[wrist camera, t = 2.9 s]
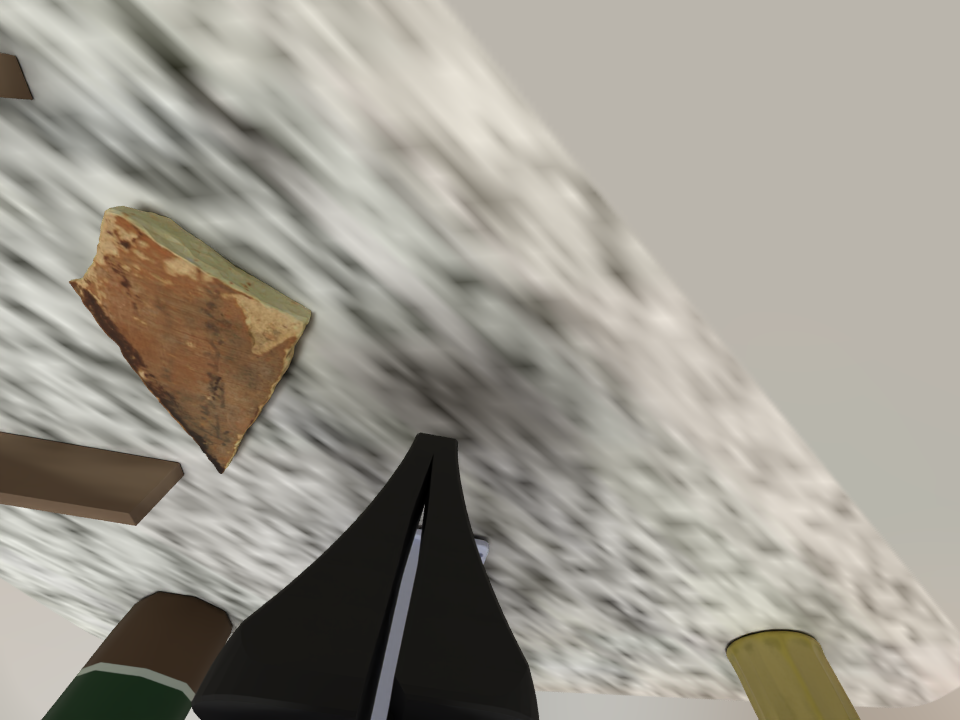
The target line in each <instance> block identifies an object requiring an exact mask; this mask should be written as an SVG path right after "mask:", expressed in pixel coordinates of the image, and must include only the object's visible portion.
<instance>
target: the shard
mask: <svg viewBox="0 0 960 720" xmlns="http://www.w3.org/2000/svg"><path fill="white" fill-rule="evenodd" d="M69 283H70V284H71V286H72V287H73V288H74V290H75V291H76V293H77V294H78V295H79V296H80V297H81V299H82V302H83V304H84V305H85V306H86V308H87V309H88V310H89V311H90V312H91V313H92V315H93V317H94V318H95V320H96V322H97V323H98V324H99V326H100V327H101V328H102V329H103V331H104V332H105V333H106V334H107V335H108V336H109V337H110V338H111V339H112V340H113V341H115V343H116V344H117V345H118V346H119V347H120V349H121V352H122V354H123V356H124V358H125V359H126V360H127V362H128V363H129V364H130V366H131V367H132V369H133V370H134V371H135V372H136V373H137V374H138V375H139V376H140V378H141V379H142V381H143V382H144V384H145V385H146V387H147V388H148V389H149V390H150V391H151V392H152V394H153V395H154V396H155V397H156V398H157V399H158V400H159V402H160V403H161V404H162V405H163V406H164V407H165V408H166V409H167V411H168V412H169V413H170V415H171V416H172V417H173V418H174V419H175V420H176V421H177V422H178V423H179V424H180V425H181V426H182V428H183V429H184V430H185V431H186V432H187V433H188V434H189V435H190V436H191V437H192V438H193V439H194V440H195V442H196V443H197V444H198V445H199V446H200V448H201V450H202V451H203V453H205V454H206V456H207V457H208V459H209V460H210V461H211V462H212V463H213V464H214V466H215V467H216V469H217V470H218V472H219V473H220V474H222V473H223V472H224V471H225V469H226V468H227V467H228V466H229V464H230V463H231V461H232V459H233V457H234V455H235V454H236V452H237V450H238V446H239V444H240V442H241V440H242V439H243V436H244V434H245V432H246V430H247V429H248V428H249V427H250V426H251V425H252V424H253V423H254V422H255V420H256V419H257V417H258V415H259V414H260V412H261V411H262V407H263V406H264V405H265V404H266V403H267V402H268V400H269V399H270V397H271V395H272V393H273V392H274V389H275V386H276V385H277V383H278V382H279V381H280V380H281V378H282V376H283V374H284V373H285V372H286V370H287V369H288V367H289V365H290V362H291V360H292V358H293V354H294V346H295V345H296V343H297V342H298V340H299V338H300V337H301V335H302V334H303V331H304V330H305V327H306V325H307V324H308V323H309V321H310V317H311V311H310V310H309V309H307V308H305V307H304V306H302V305H301V304H299V303H297V302H295V301H293V300H291V299H290V298H288V297H286V296H285V295H283V294H282V293H280V292H278V291H277V290H275V289H273V288H272V287H270V286H268V285H267V284H265V283H263V282H262V281H260V280H258V279H256V278H255V277H253V276H251V275H249V274H248V273H246V272H244V271H243V270H241V269H239V268H236V267H235V266H234V265H233V264H231V263H230V262H229V261H228V260H226V259H225V258H223V257H222V256H221V255H220V254H218V253H217V252H216V251H214V250H213V249H212V248H210V247H209V246H208V245H206V244H205V243H204V242H202V241H201V240H200V239H197V238H195V237H194V236H193V235H191V234H190V233H188V232H186V231H185V230H184V229H182V228H181V227H180V226H178V225H177V224H176V223H175V222H174V221H173V220H171V219H169V218H167V217H164V216H160V215H157V214H155V213H152V212H145V211H140V210H137V209H133V208H129V207H125V206H118V207H113V208H109V209H108V210H106V211H105V213H104V218H103V220H102V224H101V232H100V237H99V244H98V245H97V254H96V256H95V257H94V260H93V263H92V265H91V266H90V267H89V268H88V270H87V272H86V273H85V275H84V277H83V278H80V279H74V280H71V281H69Z"/></svg>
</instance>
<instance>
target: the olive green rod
mask: <svg viewBox="0 0 960 720" xmlns="http://www.w3.org/2000/svg"><path fill="white" fill-rule="evenodd" d="M726 654H727V657H728V659H729V661H730V662H731V664H732V666H733V668H734V669H735V671H736V673H737V675H738V677H739V679H740V681H741V683H742V686H743V688H744V690H745V692H746V694H747V696H748V698H749V701H750V702H751V704H752V707H753V709H754V711H755V713H756V715H757V717H758V718H759V720H860V718H859V716H858V714H857V713H856V711H855V709H854V707H853V705H852V703H851V702H850V700H849V698H848V696H847V695H846V693H845V691H844V689H843V687H842V686H841V684H840V682H839V680H838V678H837V677H836V675H835V673H834V671H833V669H832V668H831V666H830V664H829V662H828V661H827V659H826V657H825V655H824V653H823V650H822V648H821V645H820V644H819V643H818V642H817V641H816V640H815V639H814V638H812V637H810V636H808V635H805V634H802V633H799V632H792V631H767V632H761V633H755V634H751V635H748V636H745V637H742V638H740V639H738V640H736V641H734V642H733V643H731V644H730V645H729V647H728V649H727V652H726Z"/></svg>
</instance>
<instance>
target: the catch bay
mask: <svg viewBox="0 0 960 720" xmlns="http://www.w3.org/2000/svg"><path fill="white" fill-rule="evenodd" d="M0 97H4V98H17V99H30V100H33V99H32V96H31V94H30V91H29V89H28V86H27V84H26V81H25V79H24V76H23V74H22V71H21V69H20V66H19V64H18V61H17V59H16V57H15V56H13V55H9V54H4V53H0ZM183 476H184V474H183V471H182V469H181V466H180V464H179V463H176V462H170V461H164V460H159V459H153V458H147V457H141V456H135V455H130V454H124V453H118V452H112V451H106V450H100V449H95V448H89V447H83V446H77V445H71V444H66V443H60V442H54V441H48V440H42V439H37V438H31V437H25V436H19V435H13V434H7V433H2V432H0V504H5V505H11V506H17V507H24V508H30V509H36V510H42V511H48V512H54V513H61V514H67V515H73V516H79V517H85V518H91V519H98V520H104V521H110V522H116V523H122V524H128V525H135V526H136V525H137V524H138V523H139V522H140V521H141V520H142V519H143V518H144V517H145V516H146V515H147V514H148V513H149V512H150V511H151V509H152V508H153V507H154V506H155V505H156V504H157V503H158V502H159V501H160V500H161V499H162V498H163V497H164V496H165V495H166V494H167V493H168V491H169V490H170V489H171V488H172V487H173V486H174V485H175V484H176V483H177V482H178V481H179V480H180V479H181V478H182V477H183Z"/></svg>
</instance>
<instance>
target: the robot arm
mask: <svg viewBox="0 0 960 720" xmlns="http://www.w3.org/2000/svg"><path fill="white" fill-rule="evenodd" d="M424 505H425V508H424ZM423 508H424V516H423V524H422V530H421V529H417V528H418V525H419V521H420V518H421V515H422V512H423ZM488 551H489V544H488V542H486V541H484V540H480V539H474V535H473V532H472V529H471V525H470V521H469V517H468V513H467V510H466V505H465V501H464V496H463V491H462V485H461V480H460V473H459V465H458V441H457V440H456V439H452V438H447V437H441V436H436V435H430V434H425V433H419V434H417V435H416V437H415V440H414V442H413V444H412V445H411V447H410V449H409V451H408V452H407V454H406V456H405V457H404V459H403V460H402V462H401V464H400V465H399V466H398V468H397V469H396V471H395V472H394V474H393V475H392V476H391V478H390V479H389V481H388V482H387V483H386V485H385V486H384V487H383V488H382V490H381V491H380V492H379V493H378V495H377V496H376V497H375V498H374V500H373V501H372V502H371V503H370V505H369V506H368V507H367V508H366V509H365V510H364V512H363V513H362V514H361V515H360V516H359V517H358V518H357V519H356V521H355V522H354V523H353V524H352V525H351V526H350V527H349V528H348V529H347V530H346V531H345V532H344V533H343V534H342V535H341V536H340V537H339V538H338V539H337V540H336V541H335V542H334V543H333V544H332V545H331V546H330V547H329V548H328V549H327V550H326V551H325V552H324V553H323V554H322V555H321V556H320V557H319V558H318V559H317V560H316V561H315V562H313V563H312V564H311V565H310V566H309V567H308V568H307V569H306V570H304V571H303V572H302V573H301V574H300V575H299V576H298V577H297V578H295V579H294V580H293V581H292V582H291V583H290V584H289V585H287V586H286V587H285V588H284V589H283V590H281V591H280V592H279V593H278V594H277V595H275V596H274V597H273V598H272V599H270V600H269V601H268V602H267V603H265V604H264V605H263V606H262V607H260V608H259V609H258V610H257V611H255V612H254V613H253V614H252V615H250V616H249V617H248V618H247V619H245V620H244V621H243V622H242V623H241V624H240V626H239V627H238V628H237V629H236V631H235V632H234V633H233V634H232V636H231V637H230V638H229V640H228V641H227V643H226V644H225V645H224V647H223V648H222V650H221V651H220V653H219V654H218V656H217V657H216V659H215V660H214V662H213V663H212V665H211V667H210V668H209V670H208V672H207V674H206V676H205V678H204V679H203V681H202V683H201V685H200V687H199V689H198V690H197V692H196V694H195V696H194V698H193V700H192V702H191V705H192V709H193V711H194V713H195V714H196V715H197V716H198V717H199V718H200V719H201V720H539V713H538V707H537V699H536V694H535V689H534V685H533V681H532V677H531V673H530V669H529V665H528V663H527V661H526V659H525V657H524V655H523V653H522V651H521V649H520V647H519V645H518V643H517V641H516V639H515V637H514V635H513V633H512V631H511V629H510V627H509V625H508V623H507V620H506V618H505V616H504V614H503V612H502V609H501V607H500V605H499V603H498V600H497V598H496V595H495V593H494V591H493V588H492V586H491V583H490V581H489V578H488V576H487V573H486V571H485V568H484V562H485V559H486V557H487V554H488Z"/></svg>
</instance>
